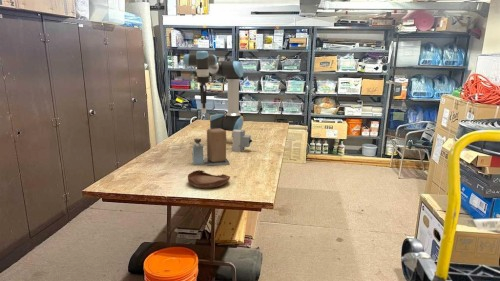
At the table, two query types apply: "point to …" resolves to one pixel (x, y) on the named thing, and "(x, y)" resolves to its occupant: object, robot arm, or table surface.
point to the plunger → (197, 142)
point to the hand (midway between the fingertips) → (203, 113)
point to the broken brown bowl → (206, 179)
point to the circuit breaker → (240, 140)
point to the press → (199, 158)
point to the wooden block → (216, 145)
